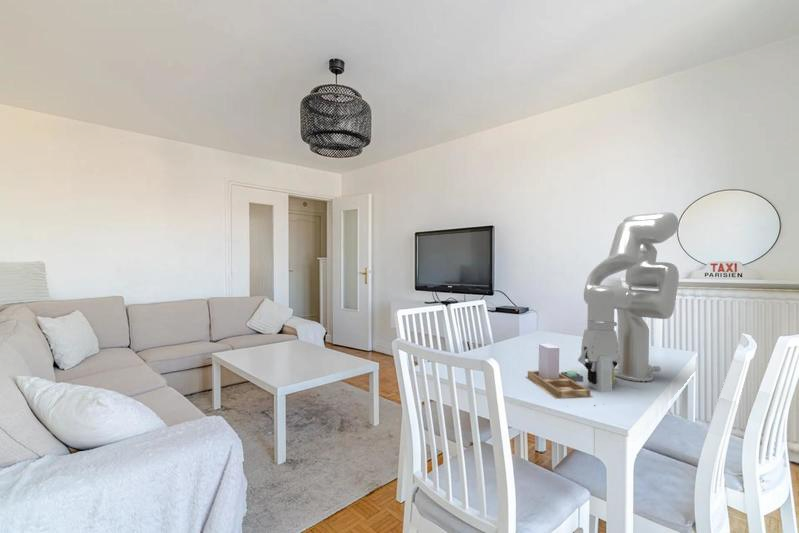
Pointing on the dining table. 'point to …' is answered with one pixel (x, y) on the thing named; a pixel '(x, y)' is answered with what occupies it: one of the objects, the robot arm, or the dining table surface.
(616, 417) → the dining table surface
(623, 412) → the dining table surface
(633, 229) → the robot arm
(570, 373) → the button
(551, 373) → the seated billet
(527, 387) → the dining table surface
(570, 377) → the grey square holder
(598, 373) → the skincare box
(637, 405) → the dining table surface
